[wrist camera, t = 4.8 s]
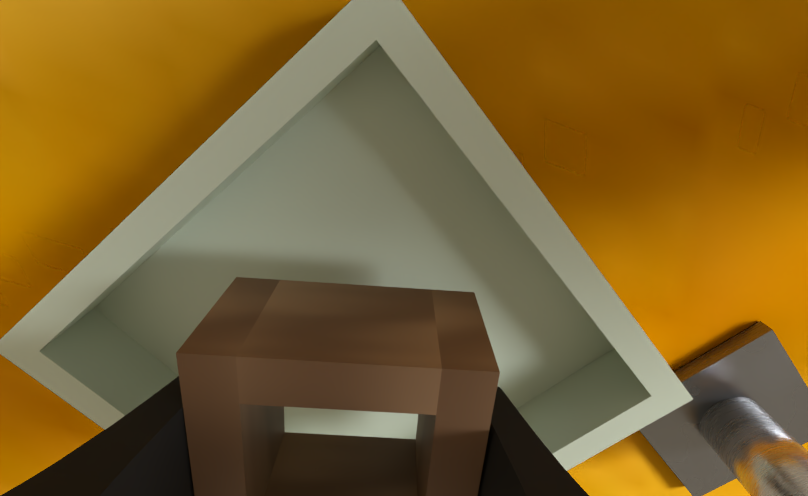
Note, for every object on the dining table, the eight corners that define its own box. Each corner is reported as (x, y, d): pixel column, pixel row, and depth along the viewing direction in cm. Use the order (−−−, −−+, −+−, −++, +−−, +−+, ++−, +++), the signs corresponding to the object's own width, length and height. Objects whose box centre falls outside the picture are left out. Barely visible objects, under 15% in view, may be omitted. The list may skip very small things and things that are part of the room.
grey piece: (760, 321, 14) (910, 427, 10) (819, 418, 16) (972, 546, 11) (619, 403, 15) (701, 529, 11) (687, 487, 17) (782, 626, 13)
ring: (474, 292, 11) (500, 372, 8) (445, 490, 13) (457, 606, 10) (236, 276, 10) (175, 353, 8) (250, 480, 13) (208, 595, 10)
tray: (385, -7, 11) (380, -29, 8) (642, 341, 14) (693, 399, 12) (66, 296, 14) (-9, 347, 11) (347, 522, 17) (338, 599, 15)
